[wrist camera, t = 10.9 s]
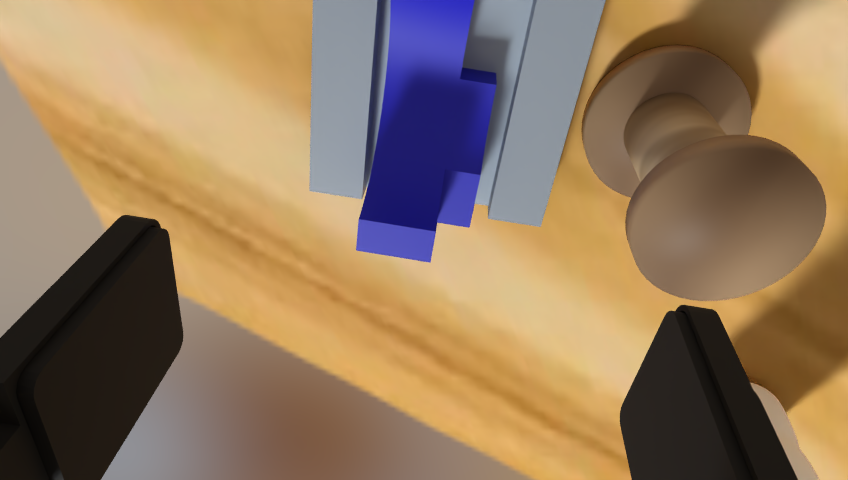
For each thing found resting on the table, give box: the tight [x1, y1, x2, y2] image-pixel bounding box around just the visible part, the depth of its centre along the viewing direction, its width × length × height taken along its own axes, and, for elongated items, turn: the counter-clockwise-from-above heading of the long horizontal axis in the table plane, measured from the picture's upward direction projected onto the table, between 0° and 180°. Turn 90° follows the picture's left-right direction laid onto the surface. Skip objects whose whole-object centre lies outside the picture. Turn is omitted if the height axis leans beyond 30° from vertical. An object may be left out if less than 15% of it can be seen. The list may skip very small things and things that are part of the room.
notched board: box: [310, 0, 605, 227], centre depth 25 cm, size 11×14×2 cm
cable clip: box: [356, 0, 497, 262], centre depth 23 cm, size 12×4×6 cm, turn 172°
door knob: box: [582, 45, 826, 301], centre depth 23 cm, size 7×7×9 cm
